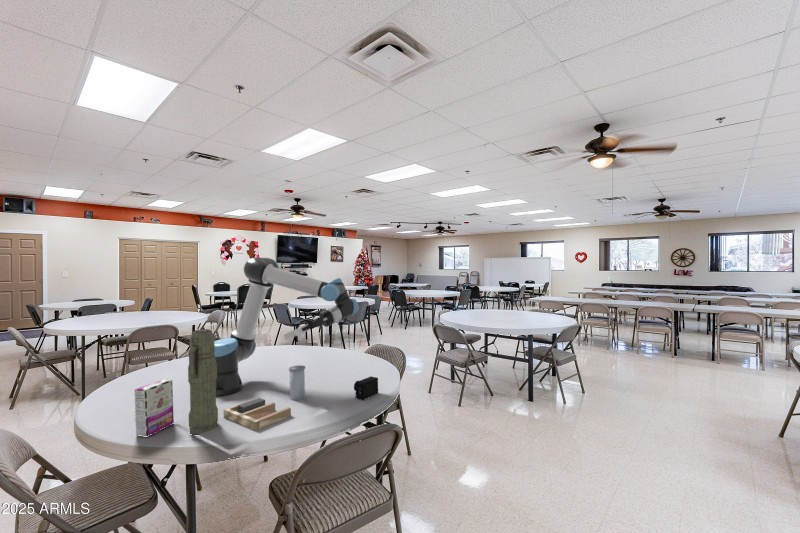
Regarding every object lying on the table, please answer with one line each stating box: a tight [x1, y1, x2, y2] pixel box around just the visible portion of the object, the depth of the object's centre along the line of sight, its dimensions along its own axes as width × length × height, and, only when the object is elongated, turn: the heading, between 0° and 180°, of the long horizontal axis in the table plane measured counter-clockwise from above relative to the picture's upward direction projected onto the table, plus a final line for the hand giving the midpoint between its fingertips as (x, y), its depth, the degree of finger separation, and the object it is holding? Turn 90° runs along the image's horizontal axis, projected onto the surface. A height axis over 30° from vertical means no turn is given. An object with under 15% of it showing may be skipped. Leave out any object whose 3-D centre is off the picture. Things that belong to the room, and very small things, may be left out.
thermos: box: [187, 328, 219, 436], centre depth 125 cm, size 9×12×35 cm
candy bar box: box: [134, 378, 175, 436], centre depth 125 cm, size 11×5×16 cm, turn 168°
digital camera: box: [353, 376, 379, 401], centre depth 156 cm, size 10×5×7 cm, turn 145°
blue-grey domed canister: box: [288, 364, 307, 401], centre depth 152 cm, size 7×7×14 cm
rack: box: [223, 397, 292, 431], centre depth 133 cm, size 20×14×4 cm
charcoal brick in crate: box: [237, 397, 266, 414], centre depth 136 cm, size 4×9×4 cm, turn 145°
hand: (289, 335), depth 157 cm, fingers open, 13 cm apart
